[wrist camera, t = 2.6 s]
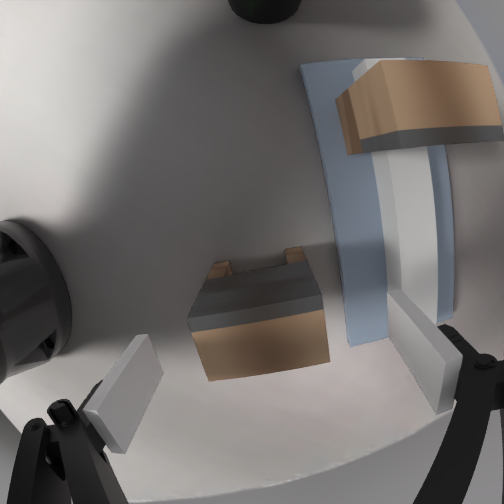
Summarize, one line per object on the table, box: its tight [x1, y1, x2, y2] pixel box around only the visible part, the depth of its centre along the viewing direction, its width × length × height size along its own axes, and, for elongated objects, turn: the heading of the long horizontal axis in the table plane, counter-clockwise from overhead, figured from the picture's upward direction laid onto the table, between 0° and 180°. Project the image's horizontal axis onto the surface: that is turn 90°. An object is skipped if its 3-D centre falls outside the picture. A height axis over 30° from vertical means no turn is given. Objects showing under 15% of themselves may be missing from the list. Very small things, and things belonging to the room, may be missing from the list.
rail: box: [300, 58, 454, 347], centre depth 20 cm, size 10×22×4 cm, turn 12°
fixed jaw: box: [335, 60, 504, 155], centre depth 15 cm, size 7×4×9 cm, turn 102°
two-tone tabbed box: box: [187, 246, 330, 381], centre depth 19 cm, size 7×4×9 cm, turn 102°
